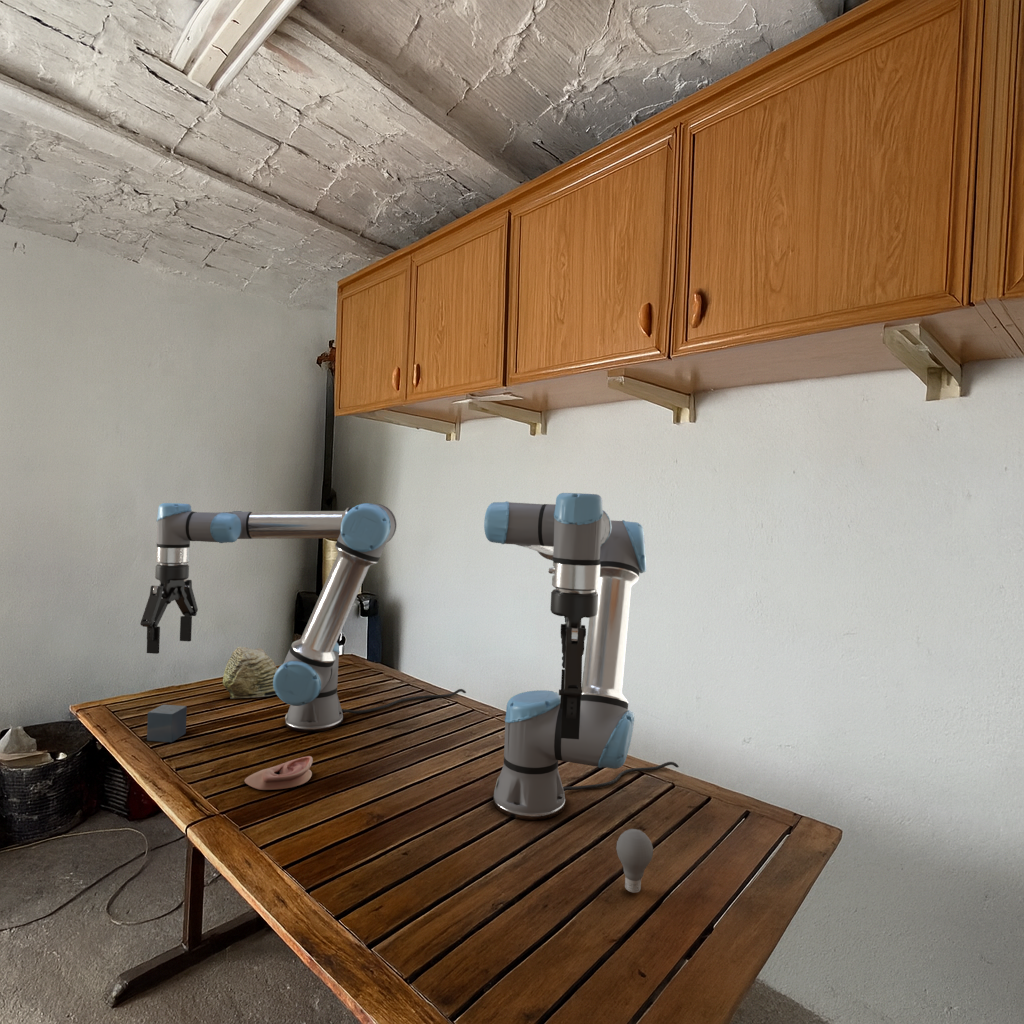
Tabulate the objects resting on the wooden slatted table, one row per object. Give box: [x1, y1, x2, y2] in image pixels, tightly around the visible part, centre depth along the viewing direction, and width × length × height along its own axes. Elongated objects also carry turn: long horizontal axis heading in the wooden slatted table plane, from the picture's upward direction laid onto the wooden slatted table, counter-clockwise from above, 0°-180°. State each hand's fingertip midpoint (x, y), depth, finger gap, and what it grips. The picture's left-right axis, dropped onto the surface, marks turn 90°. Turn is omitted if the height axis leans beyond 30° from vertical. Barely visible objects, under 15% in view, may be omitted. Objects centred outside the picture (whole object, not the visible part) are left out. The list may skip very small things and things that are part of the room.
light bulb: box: [615, 828, 654, 894], centre depth 106 cm, size 6×6×10 cm
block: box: [146, 704, 188, 743], centre depth 162 cm, size 6×6×7 cm
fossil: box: [222, 646, 279, 699], centre depth 198 cm, size 9×18×15 cm, turn 132°
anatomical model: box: [244, 755, 314, 791], centre depth 141 cm, size 13×4×12 cm
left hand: (169, 646), depth 161 cm, fingers open, 13 cm apart
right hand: (568, 722), depth 101 cm, fingers open, 13 cm apart
